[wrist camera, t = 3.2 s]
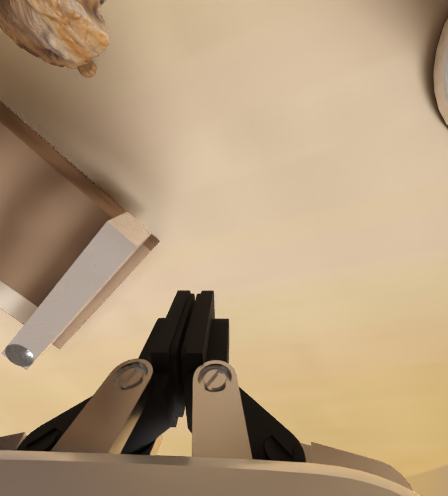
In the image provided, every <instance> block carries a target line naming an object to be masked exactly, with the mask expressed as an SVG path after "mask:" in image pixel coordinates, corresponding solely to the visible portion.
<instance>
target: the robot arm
mask: <svg viewBox="0 0 448 496" xmlns="http://www.w3.org/2000/svg"><path fill="white" fill-rule="evenodd" d="M433 73H434V93H435V97H436V101H437V104H438V108H439V111H440V113H441V115H442V116H443V118H444V120H445V122H446V124H447V125H448V18H447V20H446V22H445V25H444V27H443V30H442V33H441V37H440V40H439V43H438V47H437V50H436V57H435V64H434V72H433ZM185 406H186V416H187V424H188V429H189V430H190V432H191V433H192V457H185V456H160V455H156V454H157V452H158V449H159V447H160V444H161V440H162V433H164V432H165V431H166V430H167V429H169V428H170V427H176V425H177V420H178V417H183V415H184V410H185ZM0 496H421V495H419V494H418V493H416V492H414V491H413V490H412V488H411V486H410V484H409V483H408V482H407V481H406V479H405V478H404V477H403V476H402V475H401V474H400V473H399V472H398V471H397V470H395V469H394V468H393V467H392V466H390V465H388V464H386V463H383V462H381V461H378V460H375V459H371V458H367V457H364V456H360V455H357V454H353V453H349V452H346V451H342V450H339V449H335V448H332V447H328V446H324V445H321V444H317V443H314V442H311V446H310V445H306V444H303V443H300V442H299V441H298V440H297V438H296V437H295V436H294V435H293V434H292V433H291V432H290V431H289V430H287V429H286V428H285V427H284V426H283V425H282V424H281V423H279V422H278V421H277V420H276V419H275V418H274V417H273V416H272V415H270V414H269V413H268V412H267V411H266V410H265V409H264V408H262V407H261V406H260V405H259V404H258V403H257V402H256V401H255V400H253V399H252V398H251V397H250V396H249V395H248V394H247V393H245V392H244V391H243V390H242V389H241V388H240V387H239V386H238V380H237V375H236V372H235V370H234V368H233V367H232V366H231V365H230V364H229V319H215V312H214V291H202V292H201V294H197V297H196V300H195V295H194V294H191V293H190V291H178V292H177V294H176V296H175V298H174V301H173V303H172V305H171V307H170V310H169V312H168V314H167V316H166V318H159V319H158V320H157V321H156V323H155V325H154V328H153V330H152V332H151V334H150V336H149V338H148V340H147V342H146V344H145V346H144V348H143V350H142V352H141V354H140V356H139V358H138V359H132V360H128V361H126V362H123V363H121V364H120V365H118V366H117V367H116V368H115V369H114V370H113V371H112V372H111V373H110V374H109V376H108V377H107V378H106V380H105V381H104V382H103V384H102V385H101V386H100V387H99V389H98V390H97V391H96V393H95V394H94V395H93V396H92V397H90V398H88V399H86V400H85V401H83V402H81V403H79V404H78V405H76V406H74V407H73V408H71V409H69V410H67V411H66V412H64V413H62V414H60V415H59V416H57V417H55V418H53V419H52V420H50V421H48V422H47V423H45V424H43V425H41V426H40V427H38V428H37V429H35V430H34V431H33V432H31V433H30V434H29V435H28V436H26V434H25V432H23V433H18V434H13V435H8V436H3V437H0Z"/></svg>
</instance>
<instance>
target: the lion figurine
mask: <svg viewBox="0 0 448 496" xmlns="http://www.w3.org/2000/svg"><path fill="white" fill-rule="evenodd" d="M105 1H106V0H0V27H1V28H2V30H3V31H4V32H5V33H6V34H7V35H9V36H10V38H11V39H12V40H14V41H15V43H16V44H17V45H18V46H19V47H21V48H24V49H25V50H26V51H27V52H29V53H31V54H32V55H34V56H36V57H39V58H41V59H42V60H44V61H45V62H48V63H50V64H52V65H55V66H59V67H65V66H66V67H68V68H71V69H75V68H77V67H78V69H79V71H80V73H81V74H82V75H83V76H85V77H92V76H94V75H95V73H96V65H95V64H94V62H93V61H92V60H91V58H92V57H96V56H98V55H99V53H101V52H103V51H104V50H105V49H106V47H107V45H109V33H108V28H107V26H106V25H105V22H104V20H103V18H102V16H101V15H100V14H99V12H98V11H97V10H98V8H99V7H100V6H101V5H102V4H103V3H104V2H105Z"/></svg>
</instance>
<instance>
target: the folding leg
mask: <svg viewBox="0 0 448 496" xmlns="http://www.w3.org/2000/svg"><path fill="white" fill-rule="evenodd" d="M151 234H152V232H150V231H149V230H148V229H147V228H146V227H145V226H144V225H143V224H141V223H140V222H139V221H138V220H137V219H136V218H135V217H133V216H132V215H131V214H130V213H129V212H125V213H123V214H121V215H119V216H117V217H115V218H113V219H111V220H109V221H107V222H106V223H105V224H104V226H103V227H102V228H101V229H100V231H99V232H98V233H97V234H96V236H95V237H94V238H93V239H92V241H91V242H90V243H89V244H88V246H87V247H86V248H85V249H84V251H83V252H82V253H81V254H80V256H79V257H78V258H77V259H76V261H75V262H74V263H73V264H72V266H71V267H70V268H69V269H68V271H67V272H66V273H65V274H64V276H63V277H62V278H61V279H60V281H59V282H58V283H57V284H56V286H55V287H54V288H53V289H52V291H51V292H50V293H49V295H48V296H47V297H46V298H45V300H44V301H43V302H42V303H41V305H40V306H39V307H38V308H37V310H36V311H35V312H34V313H33V315H32V316H31V317H30V318H29V320H28V321H27V322H26V323H25V325H24V326H23V327H22V328H21V330H20V331H19V332H18V333H17V335H16V336H15V337H14V338H13V340H12V341H11V342H10V343H9V345H8V346H7V347H6V348H5V350H4V351H3V352H2V353H1V354H3V355H4V356H6V357H7V358H8V359H9V360H10V361H11V362H12V363H14V364H16V365H18V366H21V367H23V368H24V369H26V370H27V369H28V368H29V367H30V366H31V365H32V364H33V363H34V362H35V361H36V360H37V359H38V358H39V357H40V356H41V355H42V354H43V353H44V352H45V351H46V350H47V349H48V348H49V347H50V346H51V345H52V344H53V343H54V342H55V341H56V340H57V339H58V338H59V336H60V335H61V334H62V333H63V332H64V331H65V330H66V329H67V328H68V326H69V325H70V324H71V323H72V322H73V321H74V320H75V319H76V318H77V316H78V315H79V314H80V313H81V312H82V311H83V310H84V309H85V308H86V306H87V305H88V304H89V303H90V302H91V301H92V300H93V299H94V297H95V296H96V295H97V294H98V293H99V292H100V291H101V290H102V289H103V287H104V286H105V285H106V284H107V283H108V282H109V281H110V280H111V279H112V277H113V276H114V275H115V274H116V273H117V272H118V271H119V270H120V269H121V267H122V266H123V265H124V264H125V263H126V262H127V261H128V260H129V259H130V257H131V256H132V255H133V254H134V253H135V252H136V251H137V250H138V249H139V247H140V246H141V245H142V244H143V243H144V242H145V241H146V240H147V238H148V237H149V236H150V235H151Z"/></svg>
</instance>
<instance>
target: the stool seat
mask: <svg viewBox="0 0 448 496" xmlns="http://www.w3.org/2000/svg"><path fill="white" fill-rule="evenodd" d="M125 212H126V211H125V210H123V209H122V208H121V207H120V206H119V205H118V204H117V203H115V202H114V201H113V200H112V199H111V198H110V197H109V196H107V195H106V194H105V193H104V192H103V191H102V190H101V189H99V188H98V187H97V186H96V185H95V184H94V183H93V182H91V181H90V180H89V179H88V178H87V177H86V176H85V175H83V174H82V173H81V172H80V171H79V170H78V169H77V168H75V167H74V166H73V165H72V164H71V163H70V162H69V161H67V160H66V159H65V158H64V157H63V156H62V155H61V154H59V153H58V152H57V151H56V150H55V149H54V148H53V147H51V146H50V145H49V144H48V143H47V142H46V141H45V140H43V139H42V138H41V137H40V136H39V135H38V134H37V133H35V132H34V131H33V130H32V129H31V128H30V127H29V126H27V125H26V124H25V123H24V122H23V121H22V120H21V119H19V118H18V117H17V116H16V115H15V114H14V113H13V112H11V111H10V110H9V109H8V108H7V107H6V106H5V105H3V104H2V103H1V102H0V308H1V309H2V310H4V311H5V312H6V313H8V314H9V315H11V316H12V317H14V318H15V319H17V320H18V321H20V322H21V323H22V324H24V325H25V323H26V322H27V321H28V320H29V318H30V317H31V316H32V315H33V313H34V312H35V311H36V310H37V308H38V307H39V306H40V305H41V303H42V302H43V301H44V300H45V298H46V297H47V296H48V295H49V293H50V292H51V291H52V289H53V288H54V287H55V286H56V284H57V283H58V282H59V281H60V279H61V278H62V277H63V276H64V274H65V273H66V272H67V271H68V269H69V268H70V267H71V266H72V264H73V263H74V262H75V261H76V259H77V258H78V257H79V256H80V254H81V253H82V252H83V251H84V249H85V248H86V247H87V246H88V244H89V243H90V242H91V241H92V239H93V238H94V237H95V236H96V234H97V233H98V232H99V231H100V229H101V228H102V227H103V226H104V224H105V223H106V222H107V221H109V220H111V219H113V218H115V217H117V216H119V215H121V214H123V213H125ZM159 242H160V241H159V240H158V239H157V238H155V237H154V236H153V235H152V234H151V235H150V236H149V237H148V238H147V240H146V241H145V242H144V243H143V244H142V245H141V246H140V247H139V249H138V250H137V251H136V252H135V253H134V254H133V255H132V256H131V257H130V259H129V260H128V261H127V262H126V263H125V264H124V265H123V266H122V267H121V269H120V270H119V271H118V272H117V273H116V274H115V275H114V276H113V277H112V279H111V280H110V281H109V282H108V283H107V284H106V285H105V286H104V287H103V289H102V290H101V291H100V292H99V293H98V294H97V295H96V296H95V297H94V299H93V300H92V301H91V302H90V303H89V304H88V305H87V306H86V308H85V309H84V310H83V311H82V312H81V313H80V314H79V315H78V316H77V318H76V319H75V320H74V321H73V322H72V323H71V324H70V325H69V326H68V328H67V329H66V330H65V331H64V332H63V333H62V334H61V335H60V336H59V338H58V339H57V340H56V341H55V342H54V343H53V345H54V346H56V347H57V348H59V349H60V348H61V347H62V346H63V345H64V344H65V343H66V342H67V341H68V340H69V339H70V338H71V337H72V335H73V334H74V333H75V332H76V331H77V330H78V329H79V328H80V327H81V326H82V325H83V324H84V323H85V322H86V320H87V319H88V318H89V317H90V316H91V315H92V314H93V313H94V312H95V311H96V310H97V309H98V307H99V306H100V305H101V304H102V303H103V302H104V301H105V300H106V299H107V298H108V297H109V296H110V294H111V293H112V292H113V291H114V290H115V289H116V288H117V287H118V286H119V285H120V284H121V283H122V282H123V280H124V279H125V278H126V277H127V276H128V275H129V274H130V273H131V272H132V271H133V270H134V269H135V267H136V266H137V265H138V264H139V263H140V262H141V261H142V260H143V259H144V258H145V257H146V256H147V254H148V253H149V252H150V251H151V250H152V249H153V248H154V247H155V246H156V245H157V244H158V243H159Z"/></svg>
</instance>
